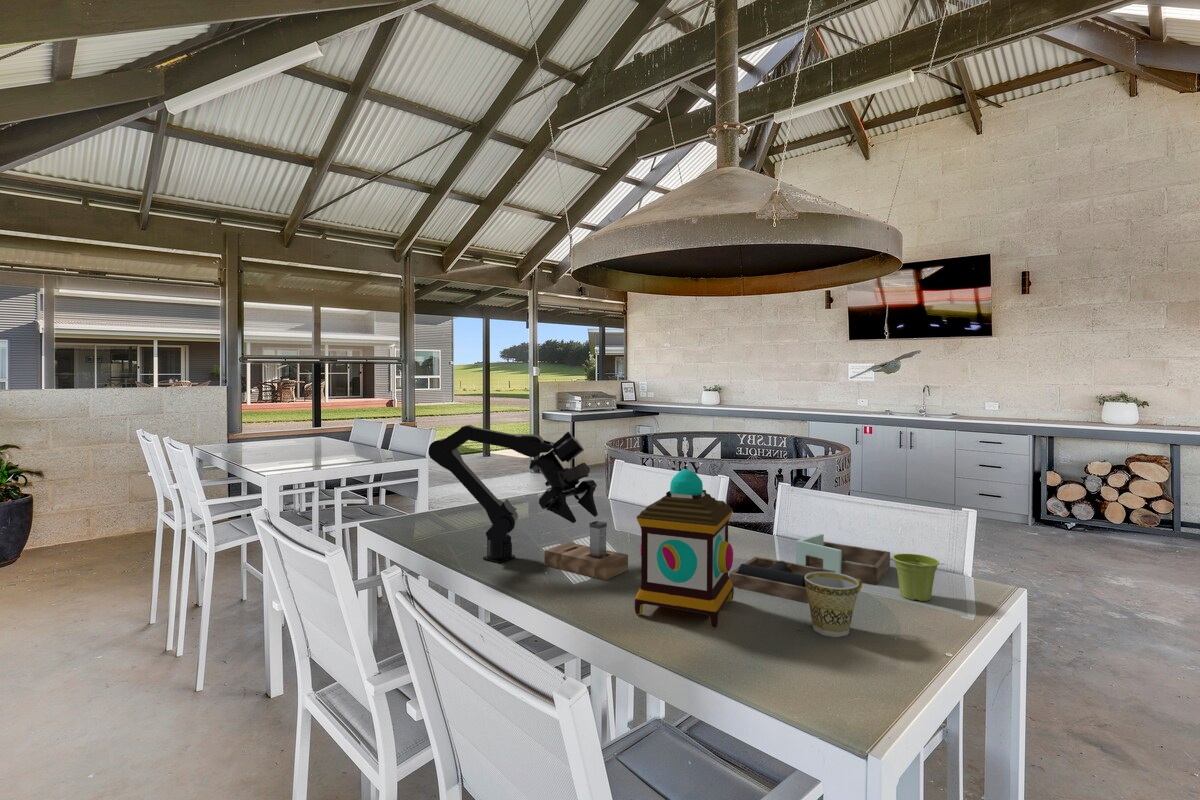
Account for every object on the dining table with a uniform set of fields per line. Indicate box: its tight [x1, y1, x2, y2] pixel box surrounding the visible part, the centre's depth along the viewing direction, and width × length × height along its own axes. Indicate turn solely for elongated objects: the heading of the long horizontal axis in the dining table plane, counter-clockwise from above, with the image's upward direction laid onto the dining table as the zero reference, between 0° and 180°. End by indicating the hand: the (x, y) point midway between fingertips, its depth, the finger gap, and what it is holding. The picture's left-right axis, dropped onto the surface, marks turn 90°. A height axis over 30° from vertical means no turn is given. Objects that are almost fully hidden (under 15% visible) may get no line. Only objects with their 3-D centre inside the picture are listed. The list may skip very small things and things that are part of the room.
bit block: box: [544, 541, 629, 581], centre depth 151 cm, size 20×10×4 cm, turn 54°
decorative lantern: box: [634, 468, 735, 629], centre depth 124 cm, size 20×20×30 cm
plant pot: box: [892, 553, 940, 602], centre depth 131 cm, size 9×9×9 cm
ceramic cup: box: [804, 572, 863, 638], centre depth 113 cm, size 13×10×10 cm
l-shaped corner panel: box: [795, 533, 842, 574], centre depth 151 cm, size 12×12×8 cm
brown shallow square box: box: [806, 541, 891, 586], centre depth 151 cm, size 17×17×4 cm
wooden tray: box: [728, 556, 835, 604], centre depth 139 cm, size 20×17×3 cm
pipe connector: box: [738, 559, 805, 587], centre depth 138 cm, size 12×5×15 cm
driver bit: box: [589, 520, 608, 559], centre depth 149 cm, size 3×3×12 cm
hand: (586, 518), depth 151 cm, fingers open, 9 cm apart
